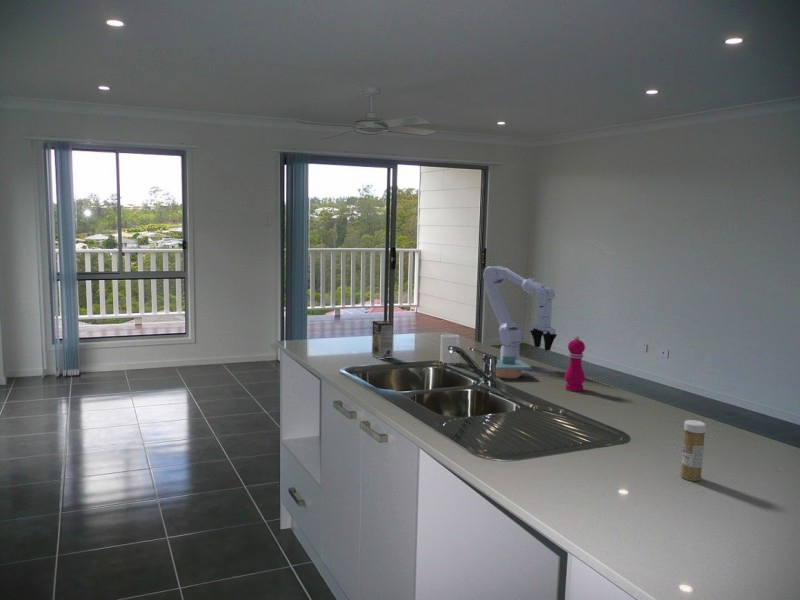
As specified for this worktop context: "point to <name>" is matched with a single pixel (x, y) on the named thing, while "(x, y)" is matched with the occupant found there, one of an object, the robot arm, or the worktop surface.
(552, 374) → the mat
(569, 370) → the pepper mill
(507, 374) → the bowl
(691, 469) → the sprinkles bottle
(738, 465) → the worktop surface
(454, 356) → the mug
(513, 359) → the cover sheet
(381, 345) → the coffee box
